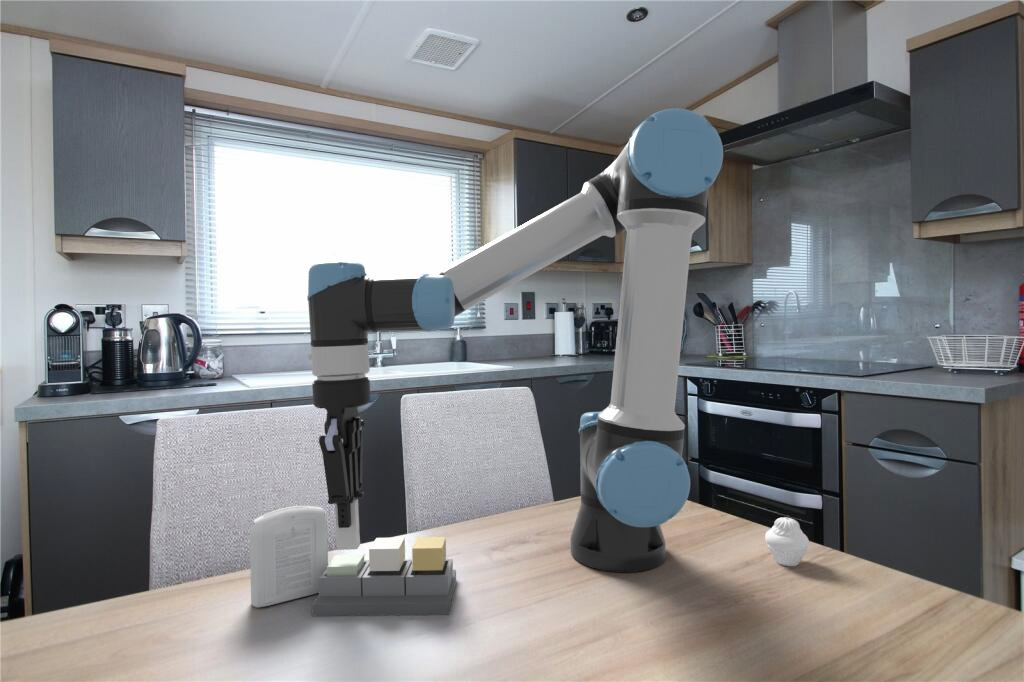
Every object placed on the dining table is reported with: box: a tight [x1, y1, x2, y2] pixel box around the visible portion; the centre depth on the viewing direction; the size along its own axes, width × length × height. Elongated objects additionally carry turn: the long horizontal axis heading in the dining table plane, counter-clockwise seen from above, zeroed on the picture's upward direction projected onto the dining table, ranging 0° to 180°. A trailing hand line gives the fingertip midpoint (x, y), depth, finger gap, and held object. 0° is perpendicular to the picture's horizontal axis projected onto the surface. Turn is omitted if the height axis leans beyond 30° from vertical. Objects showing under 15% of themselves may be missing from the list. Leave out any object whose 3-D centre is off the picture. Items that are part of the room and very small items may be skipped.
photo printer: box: [249, 505, 329, 608], centre depth 80 cm, size 10×4×12 cm, turn 123°
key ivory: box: [368, 536, 406, 571], centre depth 79 cm, size 4×4×3 cm
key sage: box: [327, 554, 365, 576], centre depth 79 cm, size 4×4×3 cm
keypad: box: [311, 558, 457, 617], centre depth 79 cm, size 18×10×4 cm, turn 89°
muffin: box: [764, 516, 810, 567], centre depth 88 cm, size 6×6×7 cm
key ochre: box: [411, 536, 447, 571], centre depth 79 cm, size 4×4×3 cm
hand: (348, 547), depth 79 cm, fingers closed
